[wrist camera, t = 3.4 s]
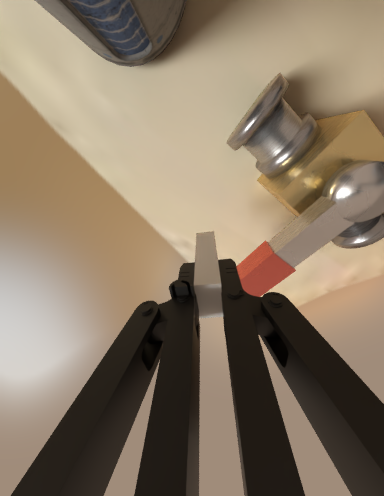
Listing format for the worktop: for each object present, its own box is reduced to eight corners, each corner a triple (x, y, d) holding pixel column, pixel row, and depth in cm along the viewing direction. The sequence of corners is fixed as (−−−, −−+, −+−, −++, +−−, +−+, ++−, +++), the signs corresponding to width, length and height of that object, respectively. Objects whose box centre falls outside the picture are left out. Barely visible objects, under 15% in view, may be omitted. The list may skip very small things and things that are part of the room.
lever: (361, 146, 12) (388, 146, 10) (389, 183, 13) (419, 189, 11) (224, 271, 18) (226, 285, 16) (251, 289, 19) (256, 304, 18)
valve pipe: (220, 147, 20) (231, 149, 13) (269, 79, 17) (318, 34, 10) (317, 236, 25) (363, 272, 18) (369, 196, 22) (448, 221, 15)
